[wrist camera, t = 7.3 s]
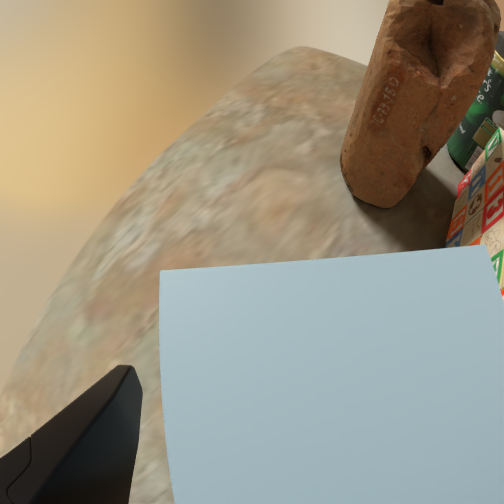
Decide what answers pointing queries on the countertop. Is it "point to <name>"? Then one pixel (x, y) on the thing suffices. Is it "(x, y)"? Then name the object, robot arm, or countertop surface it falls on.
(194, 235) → the countertop surface
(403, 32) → the block
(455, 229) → the stack of blocks
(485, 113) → the coffee jar
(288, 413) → the blue brick
